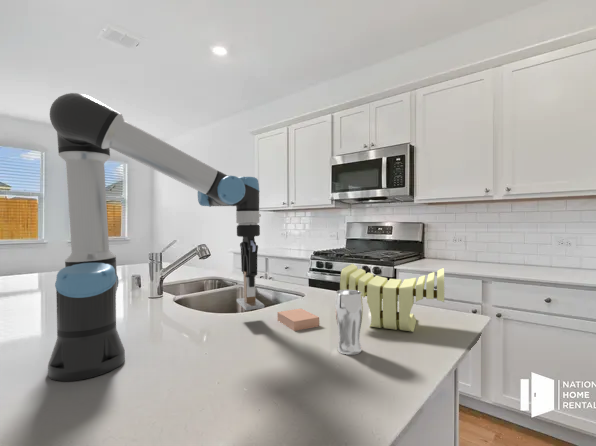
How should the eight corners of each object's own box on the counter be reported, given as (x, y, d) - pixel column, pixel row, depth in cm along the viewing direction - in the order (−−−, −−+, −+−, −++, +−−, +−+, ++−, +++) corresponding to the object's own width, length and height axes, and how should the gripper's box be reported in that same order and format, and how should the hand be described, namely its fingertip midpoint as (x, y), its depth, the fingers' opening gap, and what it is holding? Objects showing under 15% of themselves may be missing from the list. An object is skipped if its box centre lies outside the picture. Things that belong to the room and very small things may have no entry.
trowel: (264, 307, 105) (263, 273, 105) (245, 310, 103) (245, 274, 102) (253, 299, 116) (253, 268, 116) (236, 301, 114) (236, 269, 113)
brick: (301, 317, 115) (319, 327, 105) (277, 321, 111) (294, 332, 100) (301, 308, 115) (319, 317, 105) (277, 312, 111) (293, 321, 100)
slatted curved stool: (340, 326, 104) (339, 269, 104) (352, 313, 119) (352, 263, 119) (444, 339, 92) (444, 275, 92) (444, 322, 107) (443, 267, 107)
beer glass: (368, 349, 85) (367, 291, 85) (353, 358, 80) (352, 296, 80) (345, 343, 90) (345, 288, 90) (330, 350, 85) (329, 292, 85)
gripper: (266, 224, 103) (268, 299, 103) (252, 223, 118) (253, 289, 118) (243, 224, 100) (244, 302, 100) (231, 224, 115) (232, 291, 115)
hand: (249, 295), depth 109 cm, fingers closed on trowel, 3 cm apart
